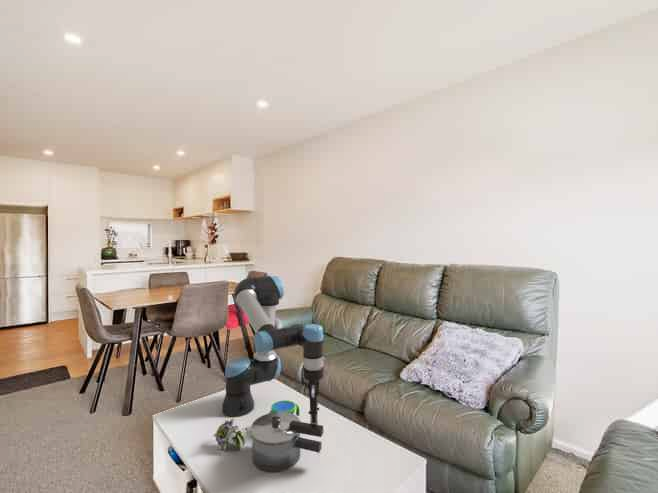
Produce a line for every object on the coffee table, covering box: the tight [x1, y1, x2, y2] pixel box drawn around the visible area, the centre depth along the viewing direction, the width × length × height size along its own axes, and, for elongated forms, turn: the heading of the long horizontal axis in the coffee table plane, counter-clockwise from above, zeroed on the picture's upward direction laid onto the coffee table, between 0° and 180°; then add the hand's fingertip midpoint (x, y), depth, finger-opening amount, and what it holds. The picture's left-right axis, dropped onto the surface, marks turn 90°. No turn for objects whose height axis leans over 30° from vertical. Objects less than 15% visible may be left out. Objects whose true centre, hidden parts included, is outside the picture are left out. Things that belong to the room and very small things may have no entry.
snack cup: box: [268, 399, 301, 417], centre depth 145 cm, size 16×10×10 cm
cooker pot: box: [251, 433, 323, 474], centre depth 126 cm, size 18×27×10 cm, turn 70°
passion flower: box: [213, 418, 249, 451], centre depth 134 cm, size 11×11×12 cm
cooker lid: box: [250, 412, 324, 445], centre depth 126 cm, size 28×19×4 cm
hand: (314, 429), depth 125 cm, fingers closed
